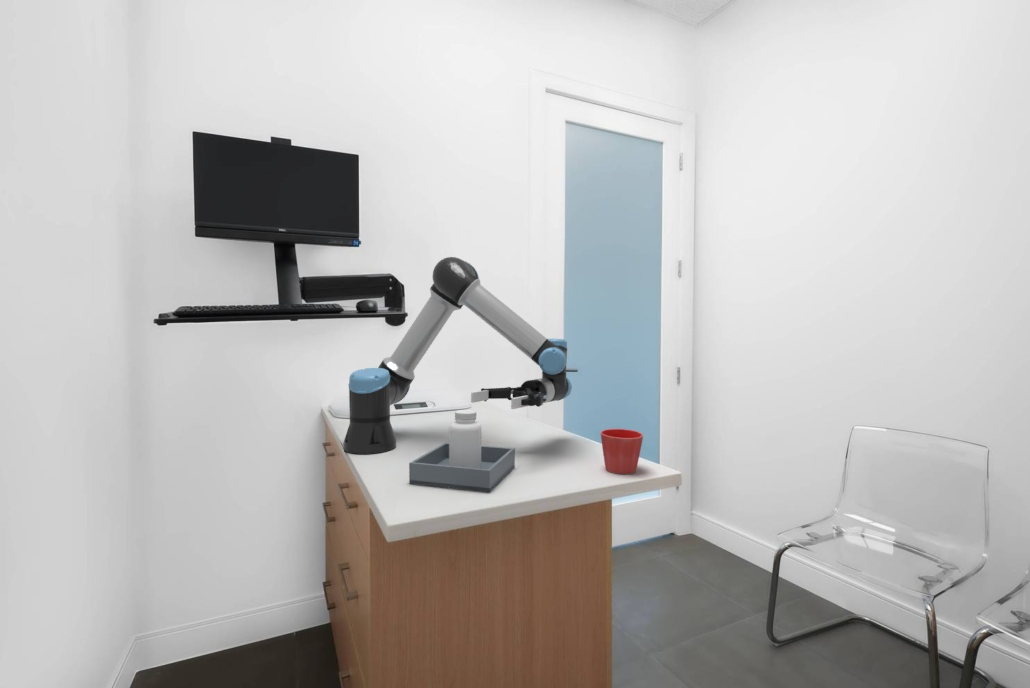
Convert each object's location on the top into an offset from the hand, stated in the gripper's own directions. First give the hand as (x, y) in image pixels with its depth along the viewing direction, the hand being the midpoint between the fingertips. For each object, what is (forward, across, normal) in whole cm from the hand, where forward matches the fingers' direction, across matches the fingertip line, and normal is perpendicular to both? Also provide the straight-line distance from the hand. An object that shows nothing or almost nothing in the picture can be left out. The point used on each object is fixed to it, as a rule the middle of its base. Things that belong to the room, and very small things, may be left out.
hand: (491, 400), depth 131 cm
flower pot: (-18, -29, -17) cm, 38 cm away
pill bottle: (+10, 0, -17) cm, 19 cm away
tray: (+10, 0, -18) cm, 20 cm away
